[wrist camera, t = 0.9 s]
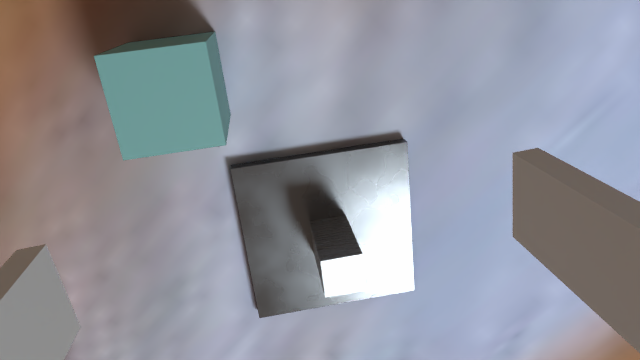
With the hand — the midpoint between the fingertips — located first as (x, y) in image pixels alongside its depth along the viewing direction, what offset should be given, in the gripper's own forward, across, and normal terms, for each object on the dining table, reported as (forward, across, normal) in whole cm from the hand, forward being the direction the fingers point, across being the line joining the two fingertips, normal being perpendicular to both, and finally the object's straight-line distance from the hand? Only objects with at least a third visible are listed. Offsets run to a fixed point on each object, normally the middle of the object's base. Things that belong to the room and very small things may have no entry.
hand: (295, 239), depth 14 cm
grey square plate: (+19, +2, -10) cm, 22 cm away
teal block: (+19, -5, +2) cm, 20 cm away
